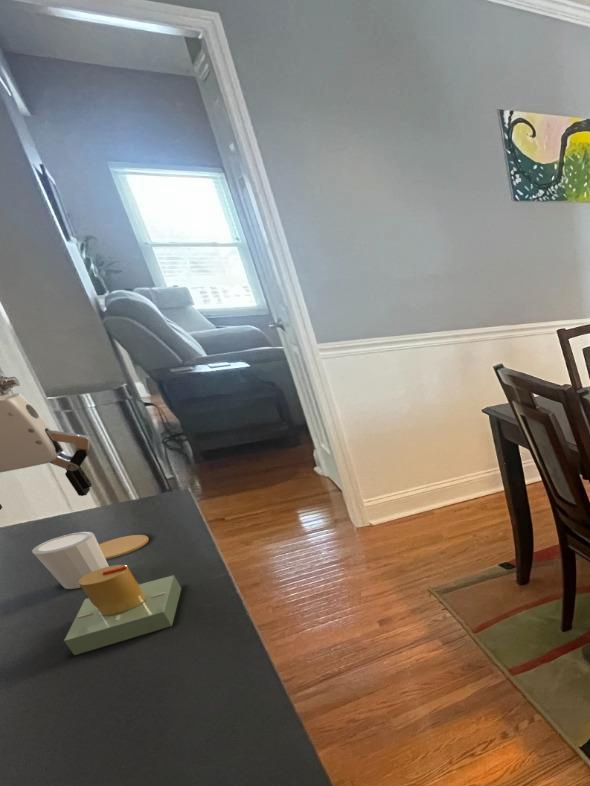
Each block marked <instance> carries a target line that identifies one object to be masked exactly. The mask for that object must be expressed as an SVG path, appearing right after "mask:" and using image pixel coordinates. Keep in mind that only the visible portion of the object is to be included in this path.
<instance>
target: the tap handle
mask: <svg viewBox="0 0 590 786" xmlns="http://www.w3.org/2000/svg"><path fill="white" fill-rule="evenodd" d="M78 583H79V585H80V586H81V587H80V588H81V589H82V591H83V592H84V594H85V595H86V597H87V598H89V599H90V601H91V602H92V604H93V605H94V607H95V608H96V610H97V611H98V613H99V614H100V615H114V614H118V613H122V612H125V611H127V610H130V609H132V608H134V607H136V606H138V605H140V604H141V603H142V602H144V601H145V599H146V596H145V594H144V592H143V591H142V589H141V587H140V586H139V584H140V583H139V582H138V581H137V579H136V578H135V576H134V574H133V572H132V571H131V569H130V568H129V566H128V565H126V564H115V565H109V567H105V568H102V569H98V570H96V571H93V572H91V573H89V574H87V575H85V576H83V577H82V578H81V579H80V580H79V581H78Z"/></svg>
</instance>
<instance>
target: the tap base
mask: <svg viewBox="0 0 590 786" xmlns="http://www.w3.org/2000/svg"><path fill="white" fill-rule="evenodd" d="M138 584H139V586H140V587H141V589H142V591H143V592H144V594H145V596H146V599H145V601H144V602H142V603H141V604H140V605H138V606H136V607H134V608H132V609H130V610H127V611H125V612H122V613H118V614H114V615H100V614H99V613H98V611H97V610H96V608H95V607H94V605H93V604H92V602H91V601H90V599H89V598H88V597H87V598H85V599H84V600H83V602H82V604H81V606H80V607H79V610H78V612H77V613H76V616H75V618H74V620H73V622H72V624H71V626H70V628H69V630H68V632H67V633H66V635H65V637H64V639H63V642H64V643H65V645H66V646H67V648H68V649H69V650H70V651H71V653H72V654H73V656H78V655H81V654H84V653H87V652H90V651H94V650H97V649H100V648H104V647H107V646H112V645H114V644H117V643H121V642H124V641H127V640H131V639H133V638H136V637H137V638H138V637H140V636H143V635H147V634H150V633H153V632H158V631H160V630H164V629H167V628H170V627H172V626H173V624H174V620H175V616H176V612H177V608H178V605H179V601H180V600H179V599H180V596H181V592H182V587H181V585H180V583H179V582H178V579H177V578H176V576H175V575H173V574H172V575H169V576H166V577H162V578H158V579H155V580H150V581H146V582H143V583H138Z"/></svg>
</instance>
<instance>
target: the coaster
mask: <svg viewBox="0 0 590 786" xmlns="http://www.w3.org/2000/svg"><path fill="white" fill-rule="evenodd" d="M148 542H149V537H148V536H147V535H144V534H131V535H126V536H120V537H117V538H114V539H113V538H112V539H110V540H107V541H104V542H101V543H98V544H99V546H100V548H101V550H102V553H103V555H104V557H105V559H106V560H110V559H113V558H114V559H115V558H117V557H120V556H125V555H127V554H129V553H132V552H135V551H137V550H139V549H140V548H142V547H144V546H145V545H147V544H148Z"/></svg>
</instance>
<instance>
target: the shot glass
mask: <svg viewBox="0 0 590 786" xmlns="http://www.w3.org/2000/svg"><path fill="white" fill-rule="evenodd" d="M99 544H100V543H99V542H98V539H97V537H96V536H95V534H94V533H93V532H92V531H80V532H74V533H69V534H65V535H61V536H58V537H55V538H51V539H49V540H46V541H44V542H42V543H40V544H38V545H36V546H35V547H33V549H32V550H31V553H33V555H34V556H35V557H36V558H37V559H38V561H40V563H41V564H42V565H43V566H44V567H45V568H46V570H48V571H49V573H50V574H51V575H52V576H53V577H54V578H55V579H56V580H57V582H58V583H59V584H60V585H61V586H62V587H63V588H64V589H65V590H73V589H79V588H81V586H80V585H79V583H78V581H79V580H80V579H81V578H82V577H83V576H85V575H87V574H89V573H91V572H93V571H96V570H98V569H102V568H105V567H109V566H110V565H109V564H108V561H107V559H105V557H104V555H103V553H102V550H101V548H100V546H99Z"/></svg>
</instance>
